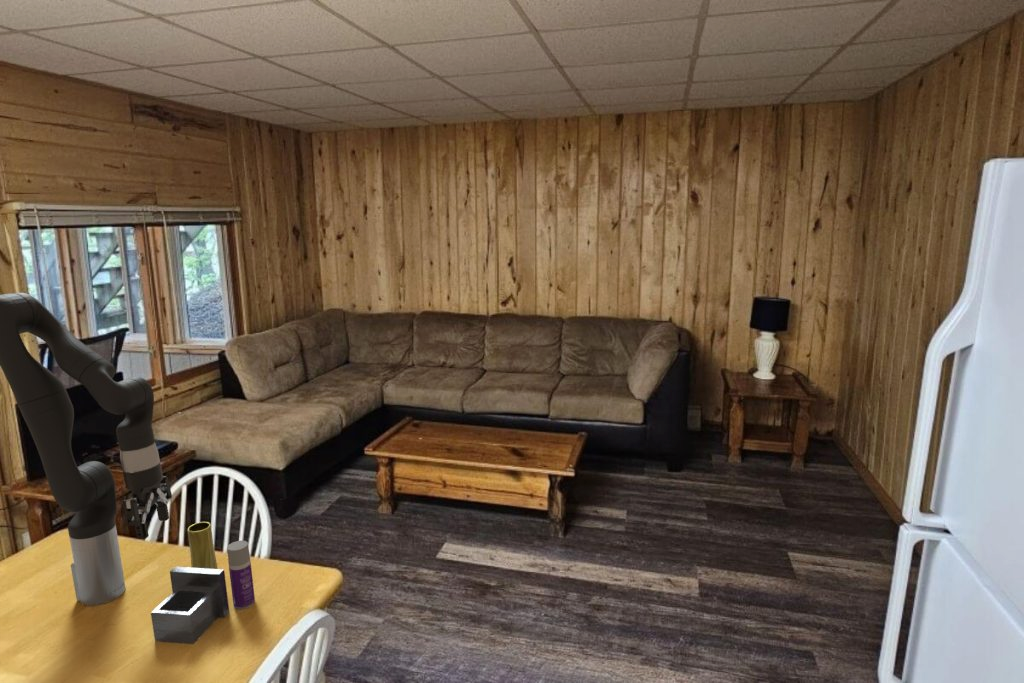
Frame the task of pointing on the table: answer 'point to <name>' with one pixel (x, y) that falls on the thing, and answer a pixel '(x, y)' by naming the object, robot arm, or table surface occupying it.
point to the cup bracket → (190, 605)
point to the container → (240, 574)
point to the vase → (201, 546)
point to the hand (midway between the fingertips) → (154, 528)
